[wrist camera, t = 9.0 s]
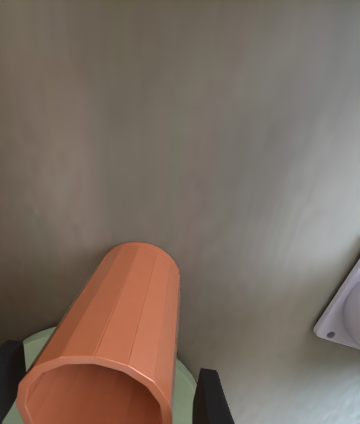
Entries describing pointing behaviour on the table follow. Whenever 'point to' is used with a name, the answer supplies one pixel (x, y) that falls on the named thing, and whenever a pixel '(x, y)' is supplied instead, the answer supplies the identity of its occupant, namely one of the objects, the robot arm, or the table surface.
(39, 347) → the plate
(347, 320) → the robot arm
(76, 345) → the cup
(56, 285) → the table surface
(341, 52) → the table surface
